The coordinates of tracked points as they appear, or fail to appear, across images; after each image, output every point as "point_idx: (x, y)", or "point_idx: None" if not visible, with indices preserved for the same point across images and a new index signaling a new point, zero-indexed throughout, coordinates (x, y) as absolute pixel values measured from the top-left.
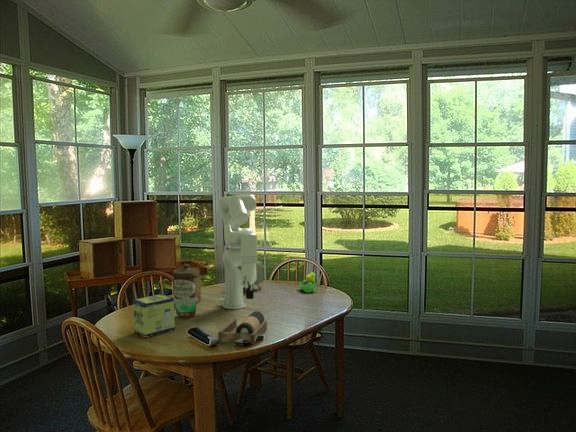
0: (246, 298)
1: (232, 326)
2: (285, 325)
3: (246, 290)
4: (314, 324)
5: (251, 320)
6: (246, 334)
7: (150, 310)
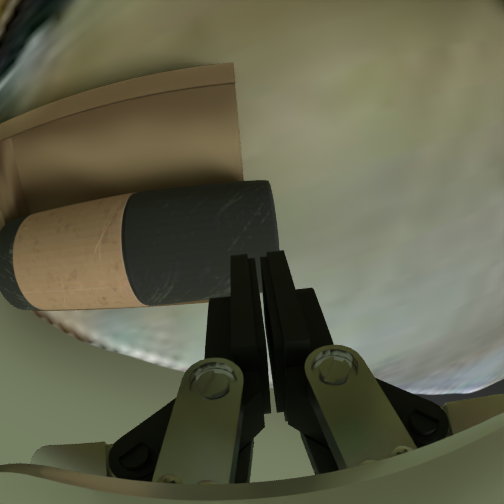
0: (231, 258)
1: (148, 95)
2: (329, 322)
3: (197, 371)
4: None
5: (70, 301)
6: None
7: None
